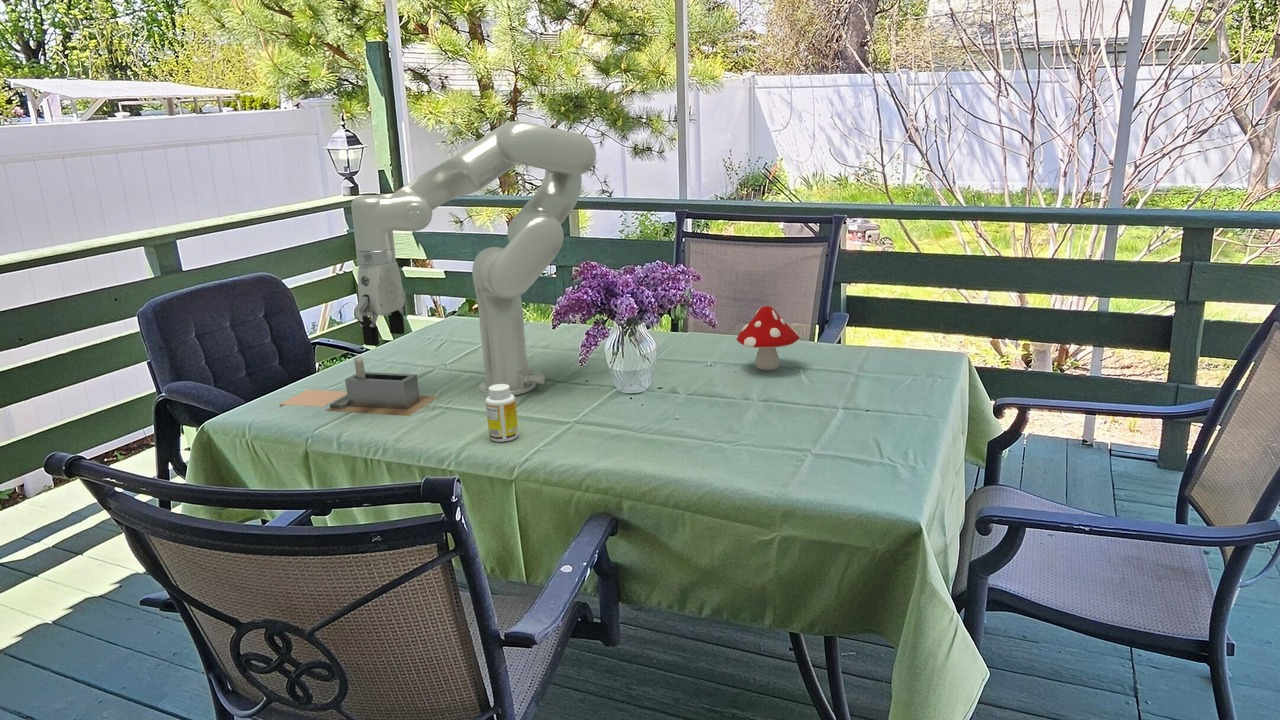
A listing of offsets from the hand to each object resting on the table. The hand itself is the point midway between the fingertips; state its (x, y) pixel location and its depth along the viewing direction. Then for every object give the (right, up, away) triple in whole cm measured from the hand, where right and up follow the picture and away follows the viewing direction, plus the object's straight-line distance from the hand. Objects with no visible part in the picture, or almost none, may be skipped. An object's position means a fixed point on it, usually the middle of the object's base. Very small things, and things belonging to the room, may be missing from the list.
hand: (384, 339), depth 186 cm
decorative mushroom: (+82, -7, +19) cm, 85 cm away
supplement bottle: (+27, -19, -15) cm, 36 cm away
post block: (-2, -14, +6) cm, 16 cm away
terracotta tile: (-19, -13, +12) cm, 26 cm away
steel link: (-2, -14, +5) cm, 15 cm away
